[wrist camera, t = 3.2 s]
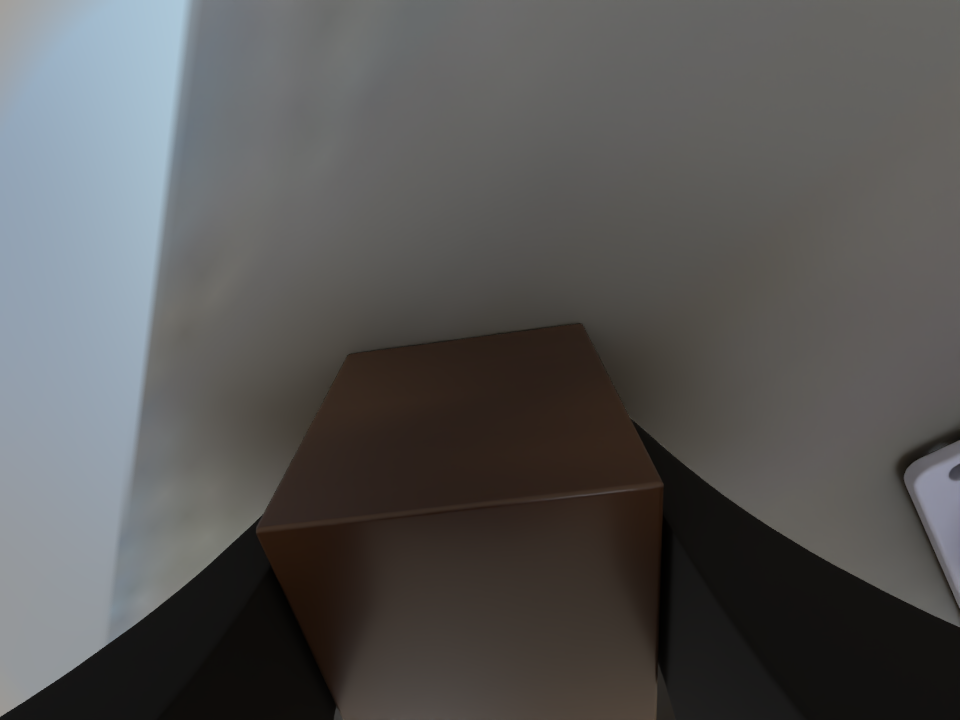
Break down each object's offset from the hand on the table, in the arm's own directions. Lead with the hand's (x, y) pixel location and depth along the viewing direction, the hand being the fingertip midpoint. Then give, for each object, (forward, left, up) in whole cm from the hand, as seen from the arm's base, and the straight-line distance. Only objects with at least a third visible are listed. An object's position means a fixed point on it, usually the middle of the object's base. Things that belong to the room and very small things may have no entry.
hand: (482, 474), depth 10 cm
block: (0, 0, -1) cm, 1 cm away
